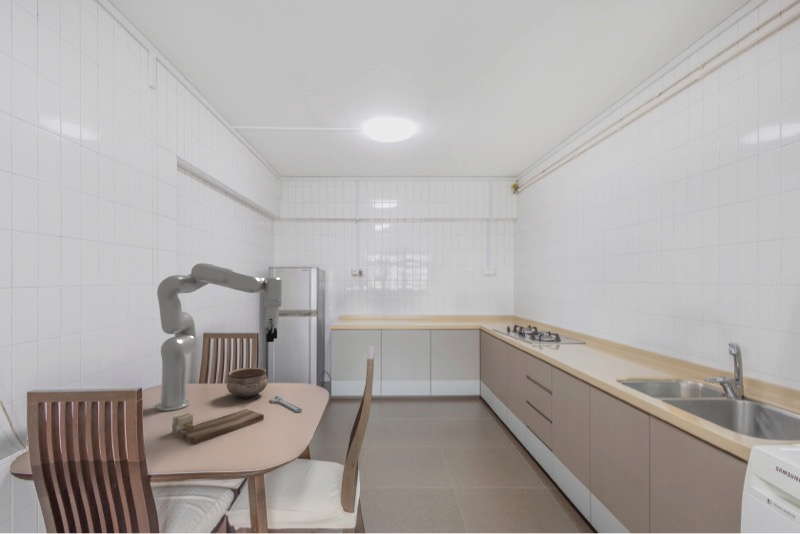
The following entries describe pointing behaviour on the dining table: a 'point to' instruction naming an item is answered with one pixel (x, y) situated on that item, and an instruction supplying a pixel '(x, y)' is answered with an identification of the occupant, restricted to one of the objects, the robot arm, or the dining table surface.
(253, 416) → the board
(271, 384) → the dining table surface
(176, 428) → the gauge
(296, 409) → the adjustable wrench
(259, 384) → the cooking pot
